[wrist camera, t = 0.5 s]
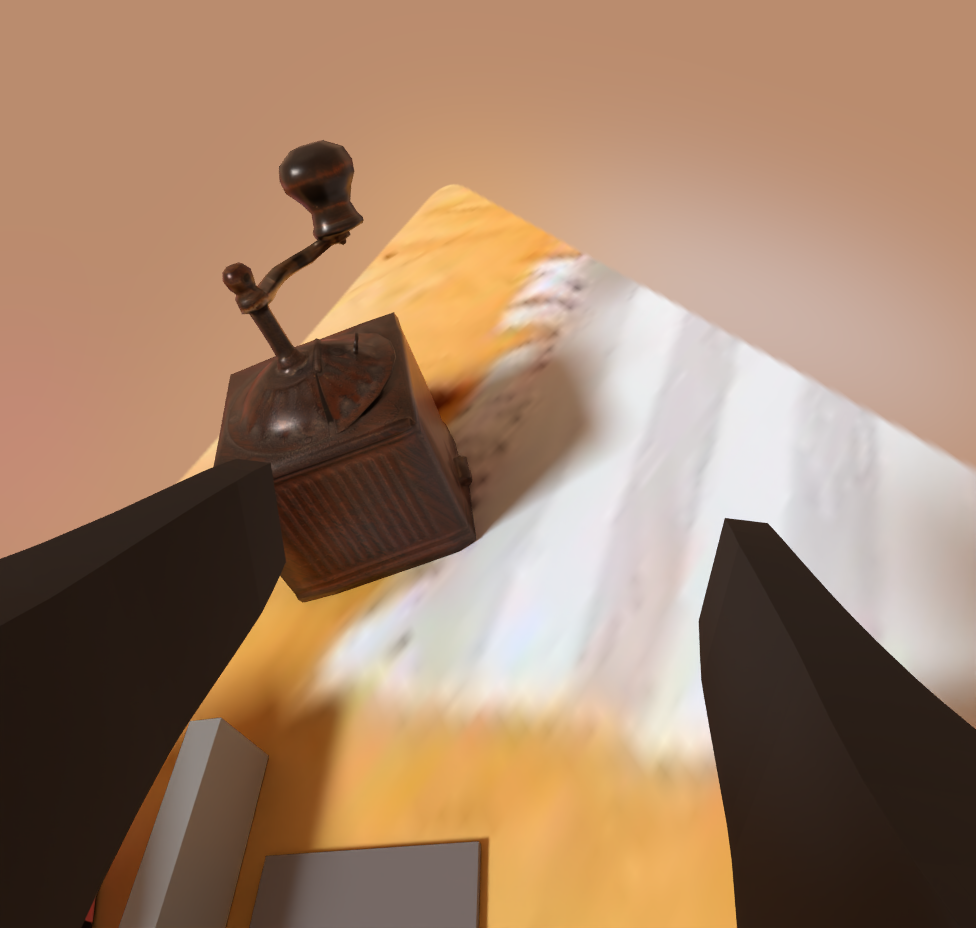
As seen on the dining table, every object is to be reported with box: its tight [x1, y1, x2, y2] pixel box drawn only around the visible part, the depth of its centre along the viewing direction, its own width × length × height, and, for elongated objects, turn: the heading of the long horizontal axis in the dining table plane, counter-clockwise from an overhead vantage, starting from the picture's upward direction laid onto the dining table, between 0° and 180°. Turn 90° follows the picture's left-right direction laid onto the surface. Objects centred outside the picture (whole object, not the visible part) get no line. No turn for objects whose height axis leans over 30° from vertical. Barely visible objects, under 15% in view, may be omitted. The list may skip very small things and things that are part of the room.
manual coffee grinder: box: [214, 140, 476, 602], centre depth 36 cm, size 16×11×18 cm
